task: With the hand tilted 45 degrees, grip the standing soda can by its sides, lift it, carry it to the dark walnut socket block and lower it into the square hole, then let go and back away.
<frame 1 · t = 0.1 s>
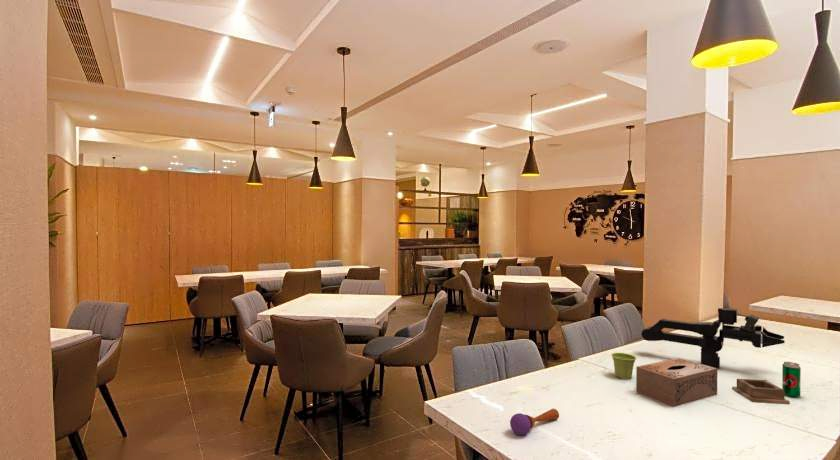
hand: (784, 339, 171), 17 cm above the table, tool horizontal, fingers open, 9 cm apart
socket block: (759, 396, 154), on the table
kendama: (535, 428, 129), on the table
tissue box cover: (676, 394, 156), on the table
plant pot: (623, 377, 174), on the table
soda can: (791, 395, 155), on the table
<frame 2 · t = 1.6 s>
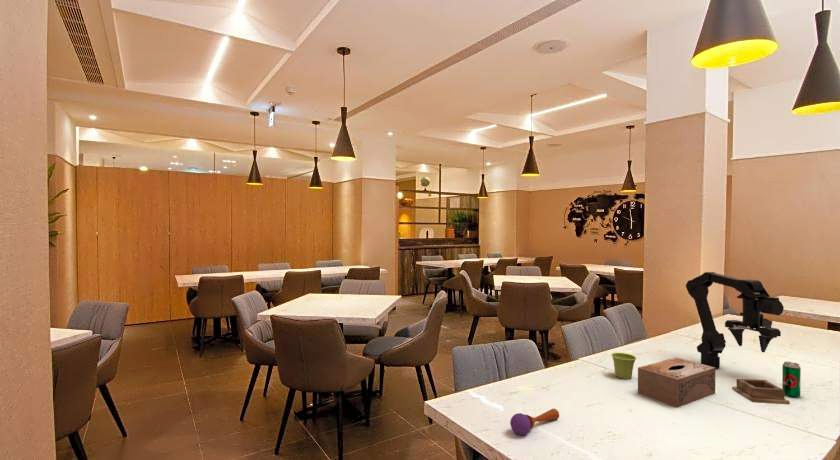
hand: (751, 349, 170), 13 cm above the table, tool pointing down, fingers open, 9 cm apart
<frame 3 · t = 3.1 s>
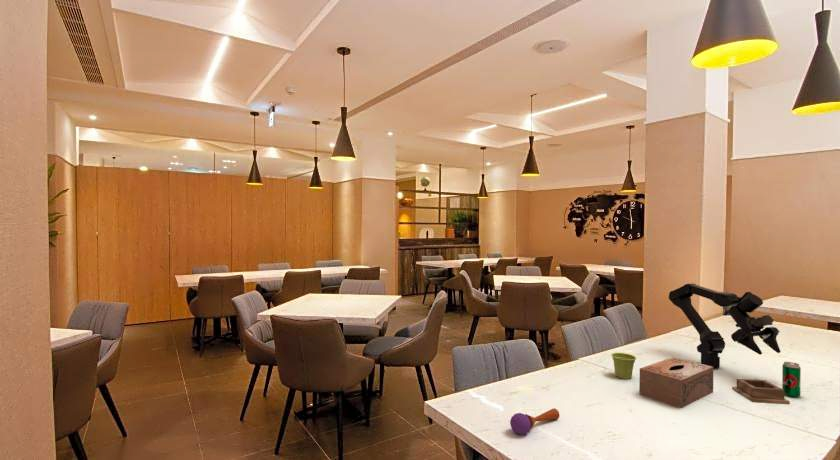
hand: (770, 353, 162), 13 cm above the table, tool tilted 45°, fingers open, 9 cm apart
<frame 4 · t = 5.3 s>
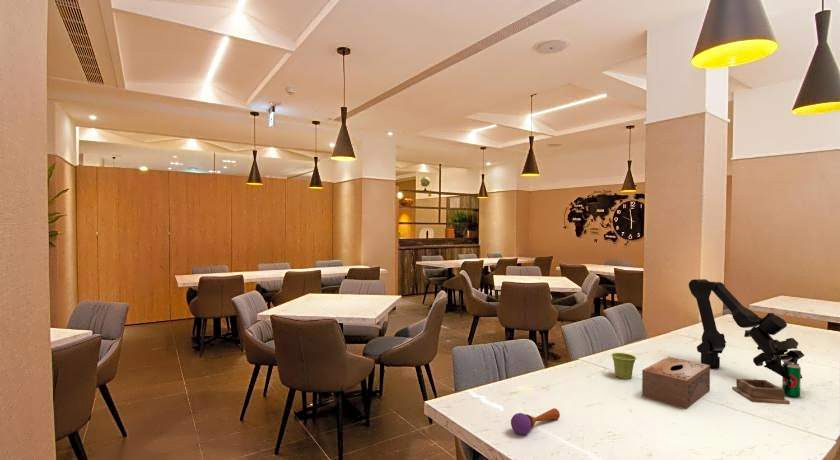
hand: (795, 379, 154), 7 cm above the table, tool tilted 45°, fingers closed on soda can, 5 cm apart
soda can: (791, 395, 155), on the table, touching gripper
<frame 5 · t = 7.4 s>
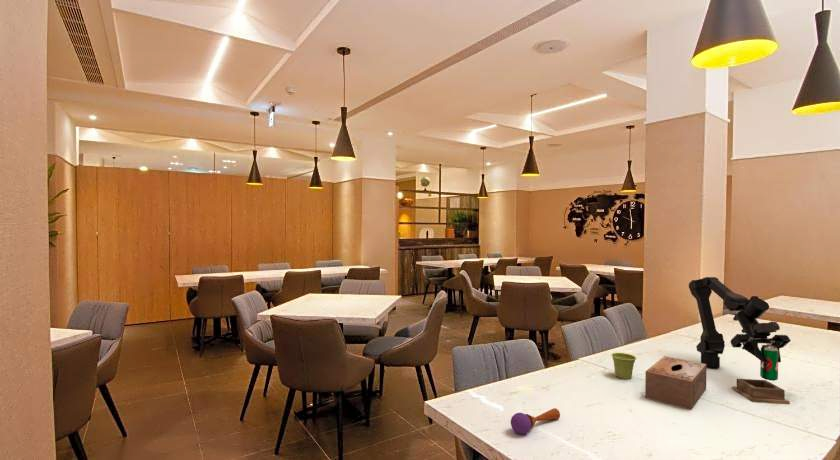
hand: (772, 361, 152), 13 cm above the table, tool tilted 45°, fingers closed on soda can, 5 cm apart
soda can: (769, 379, 154), point 6 cm above the table, touching gripper
when the fingers open (9 cm above the table, at t = 9.1 s): soda can drops 1 cm, resting on socket block.
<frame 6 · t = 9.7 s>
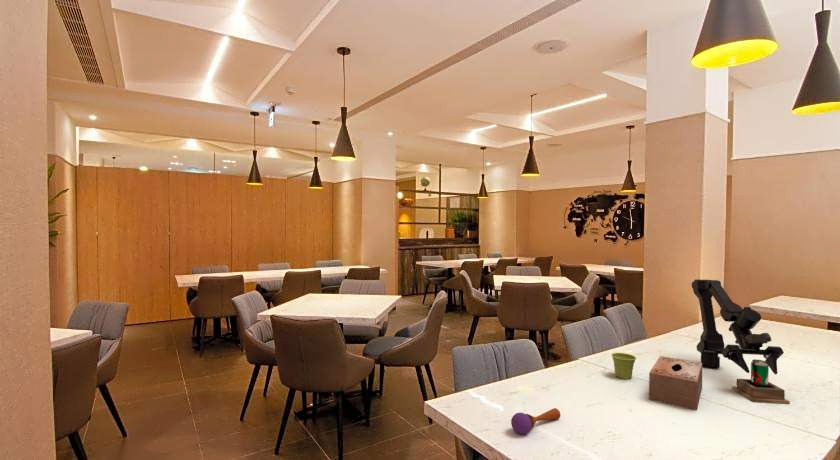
hand: (762, 373, 153), 9 cm above the table, tool tilted 45°, fingers open, 9 cm apart
soda can: (759, 393, 154), point 1 cm above the table, touching socket block
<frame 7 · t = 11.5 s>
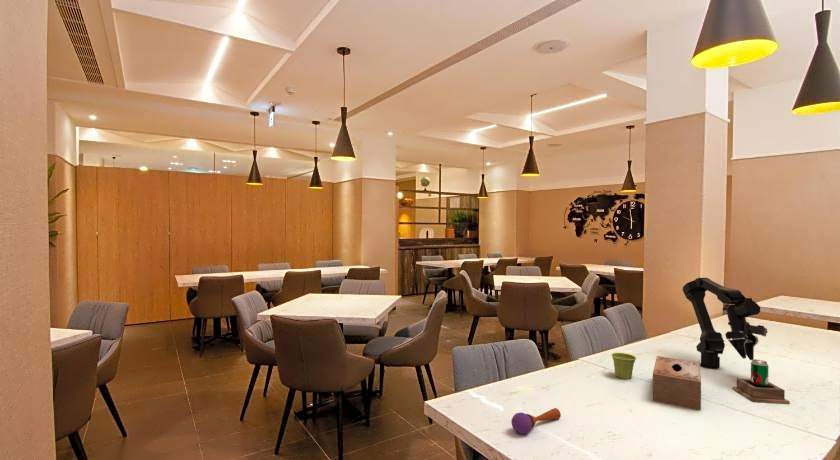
hand: (748, 359, 165), 10 cm above the table, tool tilted 25°, fingers open, 9 cm apart
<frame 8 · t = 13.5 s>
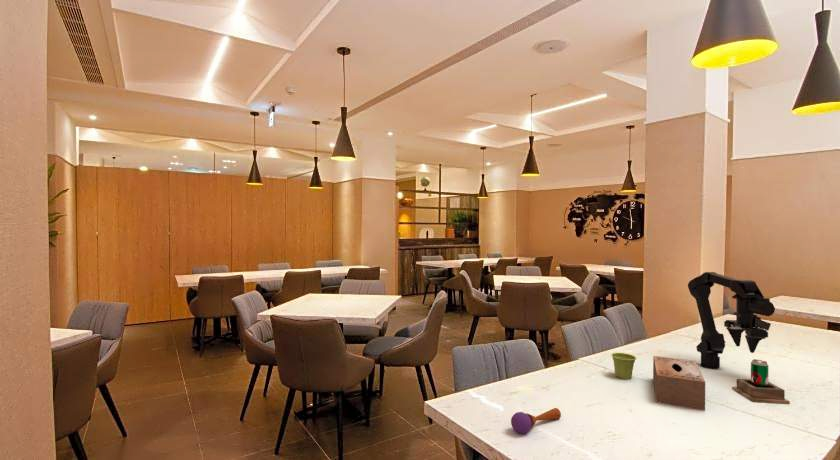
hand: (744, 349, 169), 13 cm above the table, tool pointing down, fingers open, 9 cm apart
at the end: soda can 0.1 cm off-centre on the socket block, point 0.8 cm above the socket block's base; soda can tilted 0°; the gripper is holding nothing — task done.
